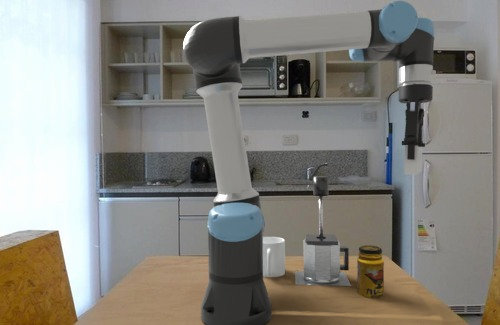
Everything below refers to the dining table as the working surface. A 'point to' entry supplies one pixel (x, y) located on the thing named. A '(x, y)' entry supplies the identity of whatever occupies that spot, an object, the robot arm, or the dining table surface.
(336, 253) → the carafe
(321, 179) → the plunger
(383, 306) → the dining table surface
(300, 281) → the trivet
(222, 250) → the robot arm
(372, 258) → the condiment
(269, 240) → the cup
